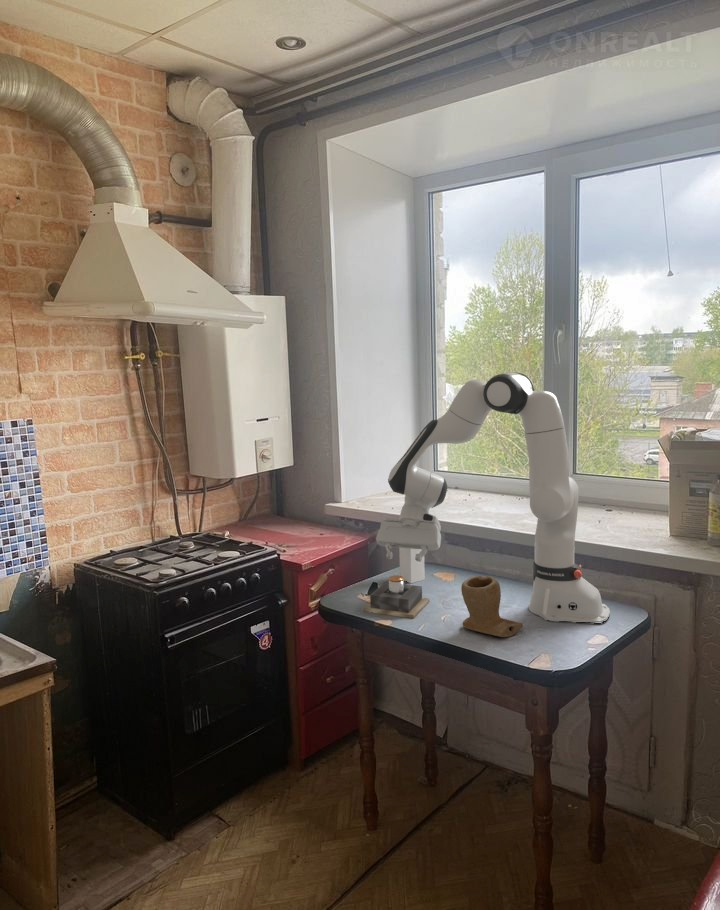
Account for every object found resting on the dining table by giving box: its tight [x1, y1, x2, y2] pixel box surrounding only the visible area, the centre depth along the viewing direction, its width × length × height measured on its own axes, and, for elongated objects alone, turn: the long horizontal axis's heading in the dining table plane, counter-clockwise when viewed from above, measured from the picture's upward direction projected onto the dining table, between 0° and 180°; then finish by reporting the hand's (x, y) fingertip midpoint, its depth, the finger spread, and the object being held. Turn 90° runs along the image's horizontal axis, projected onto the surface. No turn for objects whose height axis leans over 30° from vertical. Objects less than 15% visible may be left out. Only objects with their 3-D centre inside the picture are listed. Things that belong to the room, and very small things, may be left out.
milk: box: [398, 548, 426, 584], centre depth 227 cm, size 6×6×22 cm
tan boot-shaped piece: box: [461, 575, 524, 638], centre depth 183 cm, size 15×12×15 cm
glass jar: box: [388, 574, 405, 595], centre depth 204 cm, size 4×4×8 cm
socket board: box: [362, 581, 430, 619], centre depth 204 cm, size 16×14×5 cm
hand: (403, 559), depth 208 cm, fingers open, 8 cm apart
